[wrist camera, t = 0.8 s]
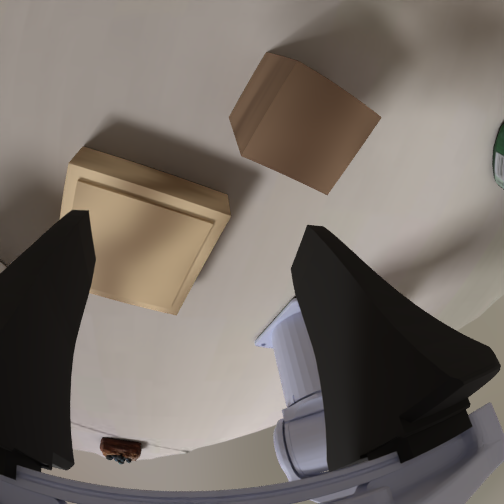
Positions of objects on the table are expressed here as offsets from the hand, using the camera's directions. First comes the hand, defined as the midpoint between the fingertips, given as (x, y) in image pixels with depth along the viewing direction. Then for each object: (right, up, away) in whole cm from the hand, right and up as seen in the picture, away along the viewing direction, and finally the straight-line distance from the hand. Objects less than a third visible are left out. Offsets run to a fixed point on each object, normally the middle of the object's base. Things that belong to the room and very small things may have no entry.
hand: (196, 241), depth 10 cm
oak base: (-7, +1, +11) cm, 12 cm away
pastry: (-32, -49, +50) cm, 77 cm away
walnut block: (+3, +8, +6) cm, 11 cm away
